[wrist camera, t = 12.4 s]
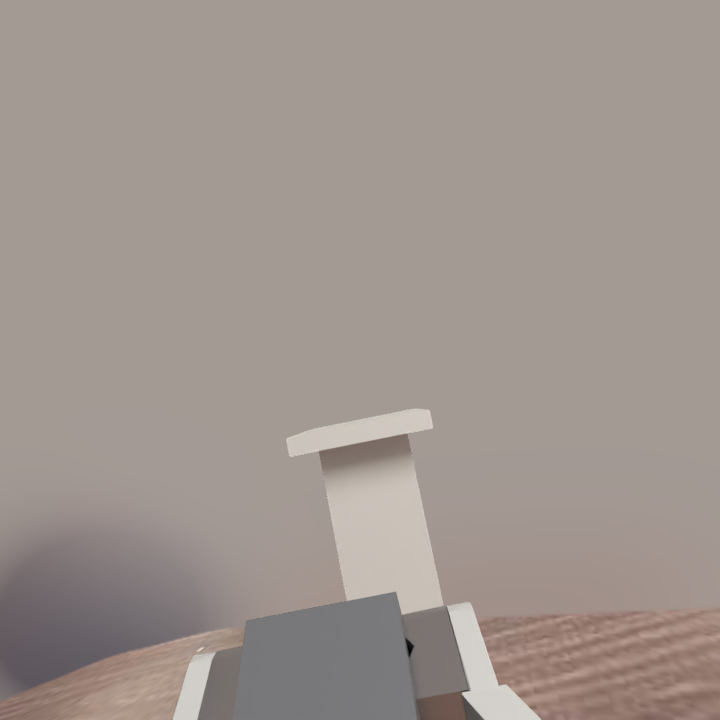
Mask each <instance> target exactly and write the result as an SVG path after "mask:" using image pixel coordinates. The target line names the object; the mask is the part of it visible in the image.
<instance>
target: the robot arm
mask: <svg viewBox="0 0 720 720" xmlns="http://www.w3.org/2000/svg"><path fill="white" fill-rule="evenodd" d="M402 618H403V626H404V632H405V638H406V642H407V646H408V650H409V655H410V657H409V663H410V669H411V675H412V681H413V687H414V693H415V699H416V704H417V708H418V712H419V716H420V720H541V719H540V718H539V717H538V716H537V715H536V714H535V713H534V712H533V711H532V710H531V709H530V708H529V707H528V706H527V705H526V704H525V703H524V702H523V701H522V700H521V699H520V698H519V697H518V696H517V695H516V694H515V693H514V692H513V691H512V690H511V689H510V688H509V687H508V686H507V685H506V684H504V685H498V682H497V679H496V676H495V673H494V670H493V667H492V664H491V661H490V658H489V655H488V652H487V649H486V646H485V643H484V640H483V637H482V634H481V631H480V628H479V625H478V622H477V619H476V616H475V613H474V611H473V607H472V606H471V604H470V603H469V601H467V602H463V603H458V604H454V605H449V606H447V607H446V606H440V607H436V608H431V609H426V610H422V611H417V612H413V613H408V614H403V615H402ZM242 649H243V647H237V648H232V649H226V650H221V651H214V652H209V653H204V654H199V655H194V656H193V658H192V660H191V662H190V663H189V665H188V668H187V671H186V674H185V678H184V681H183V685H182V688H181V691H180V695H179V698H178V701H177V705H176V708H175V711H174V715H173V718H172V720H233V715H234V708H235V701H236V693H237V686H238V678H239V671H240V664H241V656H242Z"/></svg>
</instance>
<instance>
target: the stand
mask: <svg viewBox="0 0 720 720" xmlns="http://www.w3.org/2000/svg"><path fill="white" fill-rule="evenodd" d="M431 428H433V424H432V420H431V415H430V410H425V409H410V410H405V411H400V412H395V413H390V414H385V415H380V416H375V417H370V418H365V419H360V420H355V421H350V422H345V423H340V424H335V425H330V426H325V427H320V428H315V429H311V430H308V431H306V432H303V433H301V434H298V435H295V436H292V437H289V438H287V439H286V440H287V446H288V452H289V456H290V457H291V456H296V455H301V454H306V453H311V452H316V451H319V454H320V460H321V465H322V470H323V476H324V481H325V487H326V492H327V497H328V502H329V508H330V513H331V519H332V524H333V529H334V535H335V540H336V545H337V551H338V557H339V562H340V567H341V572H342V578H343V584H344V589H345V594H346V600H347V601H350V600H355V599H360V598H365V597H370V596H375V595H381V594H386V593H391V592H396V593H397V597H398V601H399V605H400V609H401V613H402V615H403V614H408V613H413V612H417V611H422V610H426V609H431V608H436V607H440V606H443V601H442V596H441V591H440V587H439V582H438V577H437V572H436V568H435V563H434V558H433V554H432V549H431V544H430V539H429V534H428V530H427V525H426V520H425V515H424V511H423V506H422V501H421V496H420V491H419V487H418V482H417V477H416V472H415V468H414V463H413V458H412V453H411V449H410V444H409V440H408V434H407V433H411V432H416V431H421V430H426V429H431Z"/></svg>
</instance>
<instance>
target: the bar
mask: <svg viewBox="0 0 720 720" xmlns="http://www.w3.org/2000/svg"><path fill="white" fill-rule="evenodd" d="M409 657H410V655H409V650H408V646H407V642H406V638H405V632H404V626H403V618H402V613H401V609H400V605H399V601H398V597H397V593H396V592H391V593H386V594H381V595H375V596H370V597H365V598H360V599H355V600H350V601H345V602H340V603H335V604H330V605H324V606H319V607H314V608H309V609H304V610H299V611H294V612H289V613H284V614H279V615H273V616H269V617H263V618H259V619H253V620H248V621H246V627H245V634H244V642H243V649H242V656H241V664H240V671H239V678H238V686H237V693H236V701H235V708H234V715H233V720H420V716H419V712H418V708H417V704H416V699H415V693H414V687H413V681H412V675H411V669H410V663H409Z"/></svg>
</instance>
